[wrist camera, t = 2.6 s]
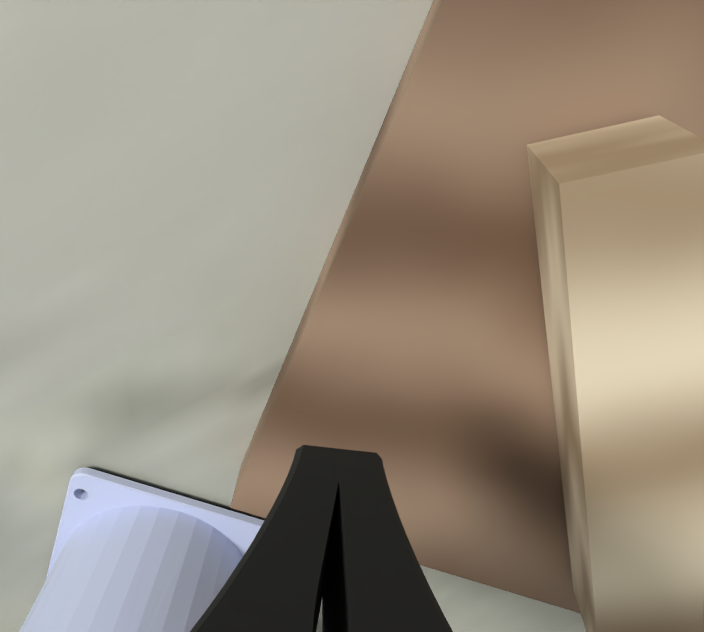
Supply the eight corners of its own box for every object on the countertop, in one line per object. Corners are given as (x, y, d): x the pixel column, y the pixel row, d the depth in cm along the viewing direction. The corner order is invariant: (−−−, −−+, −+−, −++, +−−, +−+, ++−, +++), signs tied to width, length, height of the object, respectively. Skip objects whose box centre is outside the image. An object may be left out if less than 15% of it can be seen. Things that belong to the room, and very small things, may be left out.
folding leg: (662, 602, 23) (712, 712, 19) (575, 612, 23) (610, 722, 20) (659, 115, 15) (744, 161, 11) (526, 144, 15) (570, 197, 12)
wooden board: (668, 599, 26) (728, 729, 21) (240, 465, 23) (210, 584, 19) (1202, 57, 16) (1522, 95, 11) (557, -300, 13) (653, -433, 9)
